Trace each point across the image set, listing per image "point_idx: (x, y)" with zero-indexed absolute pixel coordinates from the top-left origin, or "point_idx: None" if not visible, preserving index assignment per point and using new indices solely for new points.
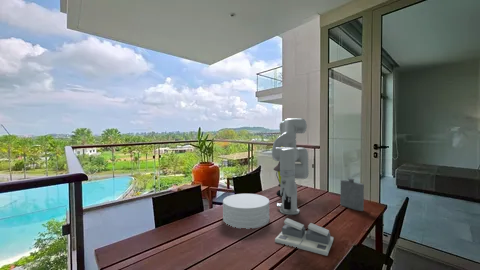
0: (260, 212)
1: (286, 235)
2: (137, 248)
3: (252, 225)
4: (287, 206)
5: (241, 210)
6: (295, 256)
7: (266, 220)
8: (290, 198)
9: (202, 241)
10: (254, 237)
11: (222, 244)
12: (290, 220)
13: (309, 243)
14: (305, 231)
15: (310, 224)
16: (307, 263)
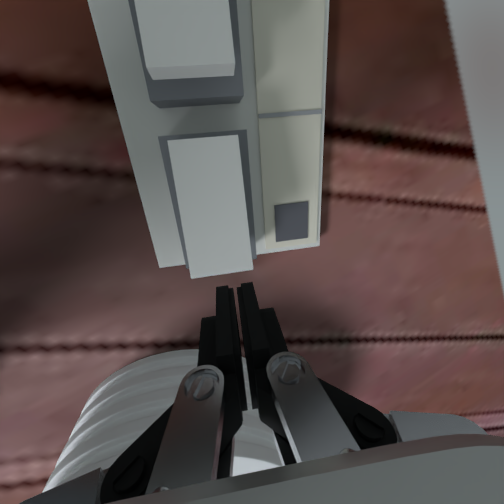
0: None
1: (258, 219)
2: None
3: None
4: (277, 321)
5: None
6: (392, 104)
7: (164, 366)
8: (221, 409)
9: (404, 396)
10: (317, 317)
11: (401, 355)
12: (204, 244)
13: (283, 59)
14: (137, 146)
15: (185, 54)
16: (432, 21)
